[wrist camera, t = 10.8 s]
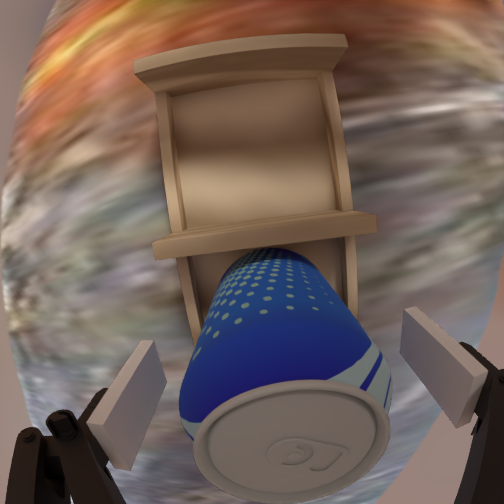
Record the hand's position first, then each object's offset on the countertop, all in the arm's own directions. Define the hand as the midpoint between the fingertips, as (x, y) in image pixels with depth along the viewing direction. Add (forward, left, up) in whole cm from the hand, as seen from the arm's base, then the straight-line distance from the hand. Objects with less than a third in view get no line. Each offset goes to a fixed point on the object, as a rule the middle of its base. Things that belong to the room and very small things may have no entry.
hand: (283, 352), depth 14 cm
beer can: (0, 0, -9) cm, 9 cm away
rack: (-5, 0, -10) cm, 12 cm away
